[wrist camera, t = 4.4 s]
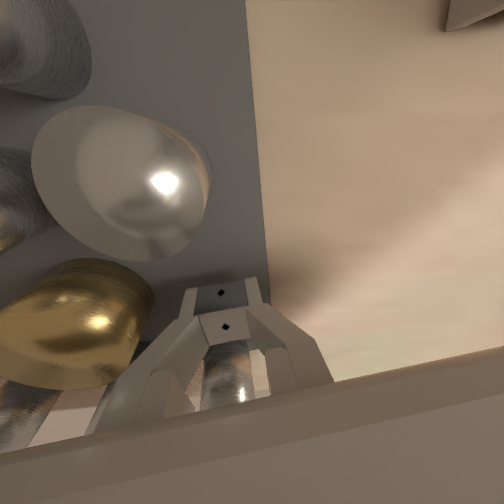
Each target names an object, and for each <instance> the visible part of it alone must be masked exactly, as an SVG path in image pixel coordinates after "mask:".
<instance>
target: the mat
mask: <svg viewBox="0 0 504 504" xmlns="http://www.w3.org/2000/svg"><path fill="white" fill-rule="evenodd" d="M69 1H70V3H71V4H72V6H73V8H74V9H75V11H76V13H77V15H78V16H79V18H80V20H81V22H82V25H83V27H84V29H85V32H86V35H87V38H88V41H89V45H90V49H91V56H92V70H91V76H90V80H89V82H88V84H87V86H86V88H85V89H84V90H83V91H82V92H81V93H80V94H79V95H77V96H76V97H74V98H71V99H68V100H51V99H47V98H43V97H38V96H34V95H30V94H26V93H22V92H18V91H14V90H10V89H6V88H2V87H0V147H11V148H17V149H20V150H24V151H26V152H29V153H31V154H32V148H33V144H34V142H35V139H36V136H37V134H38V133H39V131H40V130H41V128H42V127H43V125H44V124H45V123H46V122H47V121H48V120H49V119H51V118H52V117H54V116H55V115H57V114H58V113H60V112H62V111H65V110H67V109H70V108H74V107H79V106H86V105H99V106H108V107H113V108H117V109H121V110H124V111H127V112H131V113H134V114H137V115H140V116H143V117H146V118H149V119H152V120H155V121H158V122H162V123H165V124H168V125H171V126H174V127H177V128H180V129H183V130H185V131H187V132H189V133H190V134H192V135H193V136H194V137H196V138H197V139H198V140H199V141H200V142H201V143H202V145H203V146H204V147H205V149H206V150H207V152H208V154H209V156H210V159H211V162H212V167H213V180H212V184H211V188H210V192H209V195H208V199H207V203H206V206H205V210H204V214H203V217H202V221H201V224H200V227H199V229H198V232H197V233H196V235H195V237H194V238H193V239H192V241H191V242H190V243H189V244H188V245H187V246H186V247H185V248H184V249H182V250H181V251H179V252H178V253H176V254H174V255H172V256H170V257H167V258H164V259H161V260H156V261H148V262H136V261H127V260H122V259H118V258H114V257H111V256H108V255H105V254H103V253H100V252H98V251H96V250H94V249H92V248H90V247H88V246H87V245H85V244H83V243H82V242H80V241H79V240H78V239H76V238H75V237H73V236H72V235H71V234H70V233H69V232H67V231H66V230H65V229H64V228H63V227H62V226H61V225H58V226H56V227H54V228H52V229H50V230H48V231H46V232H44V233H42V234H40V235H38V236H36V237H34V238H32V239H30V240H28V241H26V242H24V243H22V244H20V245H18V246H16V247H14V248H12V249H10V250H8V251H6V252H4V253H2V254H0V310H1V309H3V308H4V307H5V306H7V305H8V304H9V303H10V302H12V301H13V300H14V299H16V298H17V297H18V296H20V295H21V294H22V293H23V292H25V291H26V290H27V289H29V288H30V287H31V286H33V285H34V284H35V283H37V282H38V281H39V280H40V279H42V278H43V277H44V276H46V275H47V274H48V273H50V272H51V271H52V270H54V269H55V268H56V267H58V266H59V265H61V264H63V263H65V262H67V261H70V260H75V259H82V258H95V259H102V260H107V261H111V262H114V263H118V264H120V265H123V266H125V267H127V268H129V269H131V270H132V271H134V272H135V273H137V274H138V275H139V276H141V277H142V278H143V279H144V280H145V281H146V282H147V283H148V285H149V286H150V288H151V289H152V292H153V294H154V307H153V309H152V311H151V314H150V316H149V318H148V321H147V323H146V326H145V328H144V330H143V333H142V335H141V337H140V340H139V341H152V342H153V341H154V340H155V339H156V338H157V337H158V336H159V335H160V334H161V333H162V332H163V331H164V330H165V329H166V328H167V327H168V326H169V325H170V324H171V323H172V322H173V320H176V319H178V317H179V313H180V309H181V305H182V301H183V298H184V294H185V291H186V289H187V288H193V287H199V286H204V285H211V284H218V283H224V282H230V281H235V280H241V279H245V278H250V277H256V279H257V283H258V287H259V291H260V295H261V299H262V303H267V304H269V305H270V306H271V302H270V290H269V279H268V267H267V255H266V243H265V231H264V219H263V208H262V196H261V184H260V172H259V160H258V149H257V137H256V125H255V113H254V101H253V90H252V78H251V66H250V54H249V42H248V31H247V19H246V7H245V0H69ZM244 282H245V281H244ZM247 339H248V347H249V351H250V350H255V349H258V347H257V346H256V345H255V344H254V343H253V341H252V340H251V339H250V338H247ZM204 357H205V356H204ZM202 360H204V358H203V359H202Z"/></svg>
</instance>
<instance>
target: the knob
mask: <svg viewBox="0 0 504 504" xmlns="http://www.w3.org/2000/svg"><path fill="white" fill-rule="evenodd" d="M153 307H154V294H153V292H152V289H151V288H150V286H149V285H148V283H147V282H146V281H145V280H144V279H143V278H142V277H141V276H139V275H138V274H137V273H135V272H134V271H132V270H131V269H129V268H127V267H125V266H123V265H120V264H118V263H114V262H111V261H107V260H102V259H95V258H82V259H75V260H70V261H67V262H65V263H63V264H61V265H59V266H58V267H56V268H55V269H54V270H52V271H51V272H50V273H48V274H47V275H46V276H44V277H43V278H42V279H40V280H39V281H38V282H37V283H35V284H34V285H33V286H31V287H30V288H29V289H27V290H26V291H25V292H23V293H22V294H21V295H20V296H18V297H17V298H16V299H14V300H13V301H12V302H10V303H9V304H8V305H7V306H5V307H4V308H3V309H1V310H0V376H1V377H3V378H6V379H8V380H11V381H14V382H17V383H20V384H24V385H28V386H33V387H38V388H45V389H55V390H81V389H90V388H95V387H100V386H103V385H106V384H109V383H111V382H113V381H115V380H117V379H118V377H119V376H120V375H121V374H122V373H123V372H124V371H125V370H126V369H127V368H128V366H129V363H130V361H131V359H132V356H133V354H134V351H135V349H136V347H137V344H138V342H139V340H140V337H141V335H142V333H143V330H144V328H145V326H146V323H147V321H148V318H149V316H150V314H151V311H152V309H153Z"/></svg>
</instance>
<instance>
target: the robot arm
mask: <svg viewBox="0 0 504 504" xmlns="http://www.w3.org/2000/svg"><path fill="white" fill-rule="evenodd" d="M244 281H245V282H244ZM247 338H250V339H251V340H252V341H253V343H254V344H255V345H256V346H257V347H258V349H259V350H260V351H261V352H262V354H263V355H264V356H265V361H266V368H267V376H268V384H269V391H270V396H268V397H263V398H258V399H254V400H249V401H244V402H240V403H235V404H230V405H226V406H221V407H216V408H212V409H207V410H202V411H198V412H195V407H194V406H193V404H192V403H191V401H190V400H189V398H188V396H187V395H186V393H185V392H184V391H185V390H186V388H187V386H188V384H189V383H190V381H191V379H192V377H193V375H194V374H195V372H196V370H197V368H198V367H199V365H200V363H201V361H202V359H203V358H204V356H205V354H206V352H207V351H208V349H209V346H212V345H216V344H221V343H225V342H229V341H235V340H241V339H247ZM0 504H504V346H501V347H496V348H492V349H487V350H482V351H478V352H473V353H468V354H464V355H459V356H454V357H450V358H445V359H441V360H436V361H431V362H427V363H422V364H417V365H413V366H408V367H403V368H399V369H394V370H389V371H385V372H380V373H375V374H371V375H366V376H361V377H357V378H352V379H347V380H342V381H338V382H334V380H333V378H332V376H331V374H330V371H329V369H328V367H327V365H326V363H325V361H324V359H323V356H322V354H321V352H320V350H319V348H318V346H317V344H316V341H315V339H313V338H312V337H311V336H309V335H308V334H307V333H305V332H304V331H303V330H302V329H300V328H299V327H298V326H296V325H295V324H294V323H292V322H291V321H290V320H288V319H287V318H286V317H284V316H283V315H282V314H280V313H279V312H278V311H276V310H275V309H274V308H272V307H271V306H270V305H269V304H267V303H262V299H261V295H260V291H259V287H258V283H257V279H256V277H250V278H245V279H241V280H235V281H230V282H224V283H218V284H211V285H204V286H199V287H193V288H187V289H186V291H185V294H184V298H183V301H182V305H181V309H180V313H179V317H178V319H176V320H173V322H172V323H171V324H170V325H169V326H168V327H167V328H166V329H165V330H164V331H163V332H162V333H161V334H160V335H159V336H158V337H157V338H156V339H155V340H154V341H153V342H152V343H151V344H150V345H149V346H148V347H147V348H146V349H145V350H144V351H143V353H142V354H141V355H140V356H139V357H138V358H137V359H136V360H135V361H134V362H133V363H132V364H131V365H130V366H129V367H128V368H127V369H126V370H125V371H124V372H123V373H122V374H121V375H120V376H119V377H118V379H117V381H116V383H115V386H114V388H113V390H112V392H111V394H110V397H109V399H108V401H107V403H106V406H105V408H104V410H103V412H102V414H101V417H100V419H99V421H98V423H97V426H96V428H95V430H94V432H93V434H90V435H86V436H81V437H76V438H72V439H67V440H62V441H58V442H53V443H48V444H44V445H39V446H34V447H30V448H25V449H20V450H16V451H11V452H6V453H2V454H0Z"/></svg>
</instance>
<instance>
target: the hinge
mask: <svg viewBox="0 0 504 504" xmlns="http://www.w3.org/2000/svg"><path fill="white" fill-rule="evenodd" d="M502 10H504V0H450V6H449V11H448V17H447V22H446V28H445V31H446V32H447V31H455V30H460V29H462V28H464V27H466V26H469V25H471V24H473V23H475V22H478V21H480V20H482V19H484V18H486V17H489V16H491V15H493V14H495V13H498V12H500V11H502Z"/></svg>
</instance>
